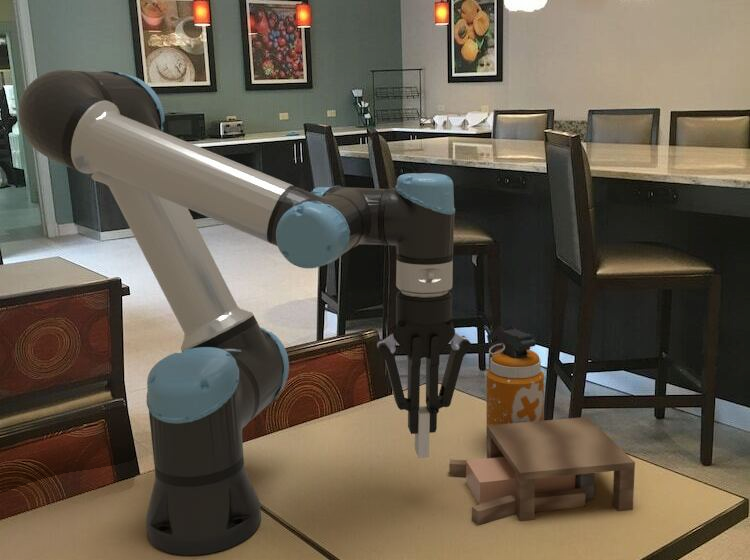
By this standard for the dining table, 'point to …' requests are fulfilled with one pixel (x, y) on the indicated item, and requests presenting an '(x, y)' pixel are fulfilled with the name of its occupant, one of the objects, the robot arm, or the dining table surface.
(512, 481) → the pink foam brick
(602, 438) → the shelf
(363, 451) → the dining table surface
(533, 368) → the canister
